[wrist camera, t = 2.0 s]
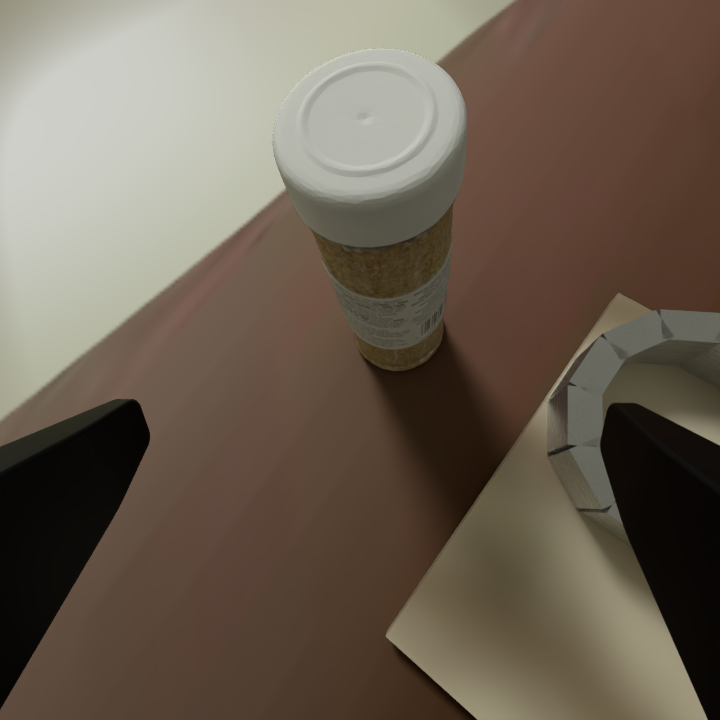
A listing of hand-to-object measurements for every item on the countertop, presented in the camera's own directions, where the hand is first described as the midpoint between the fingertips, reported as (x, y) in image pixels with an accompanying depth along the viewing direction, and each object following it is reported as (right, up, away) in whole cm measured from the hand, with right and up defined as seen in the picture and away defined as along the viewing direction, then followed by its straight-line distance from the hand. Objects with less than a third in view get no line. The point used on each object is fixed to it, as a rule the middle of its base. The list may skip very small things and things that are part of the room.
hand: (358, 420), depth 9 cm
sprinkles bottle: (+2, +3, +14) cm, 15 cm away
